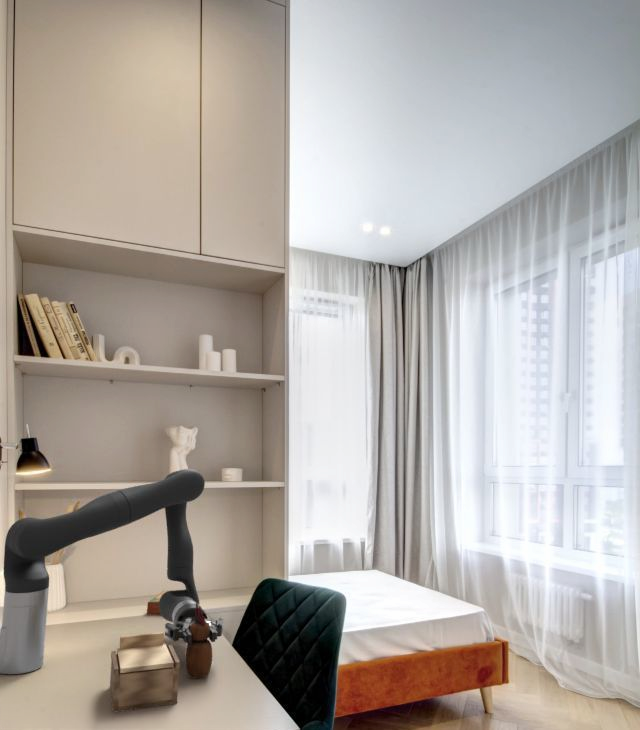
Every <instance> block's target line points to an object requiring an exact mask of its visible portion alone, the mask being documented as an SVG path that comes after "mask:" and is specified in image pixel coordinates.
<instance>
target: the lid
mask: <svg viewBox="0 0 640 730" xmlns="http://www.w3.org/2000/svg"><path fill="white" fill-rule="evenodd" d="M164 639H165V631H162V632H160V631H159V632H153V633H152V632H151V633H142V634H141V633H140V634H132V635H122V636H120V637H119V647H118V648H117V649H116V654H117V656H118V662H119V668H120V673H126V672H135V671H143V670H151V669H160V668H168V667H174V662H173V660H172V657H171V655H170V653H169V651H168V645H167V644H166V643H165V640H164Z"/></svg>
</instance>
